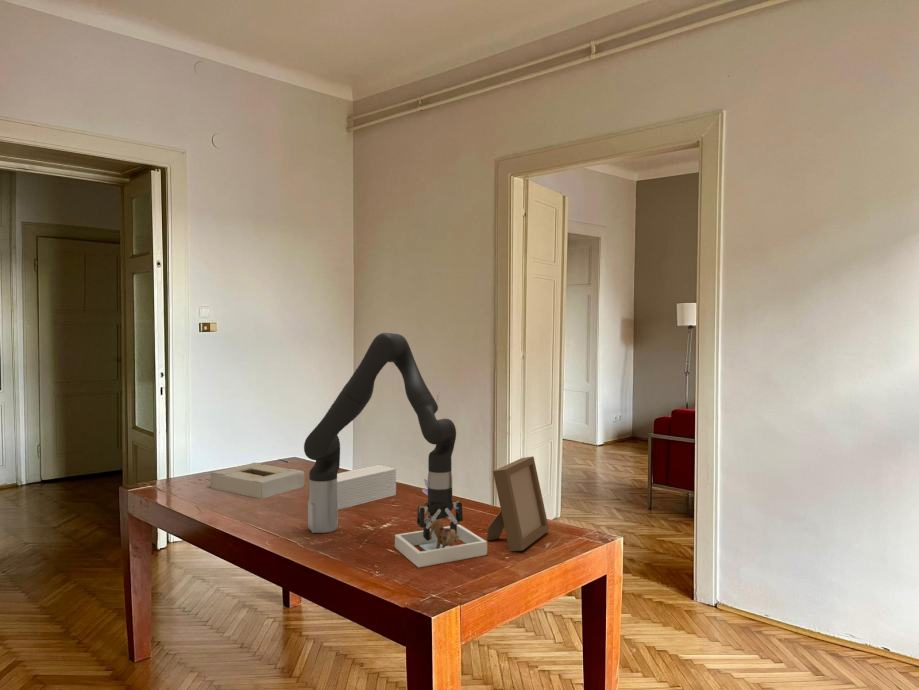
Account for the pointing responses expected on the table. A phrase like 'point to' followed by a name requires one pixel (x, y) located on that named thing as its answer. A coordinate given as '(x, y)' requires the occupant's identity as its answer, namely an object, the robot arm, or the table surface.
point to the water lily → (425, 489)
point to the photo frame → (519, 505)
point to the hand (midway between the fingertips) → (440, 537)
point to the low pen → (436, 556)
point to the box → (257, 480)
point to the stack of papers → (365, 485)
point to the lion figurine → (443, 534)
